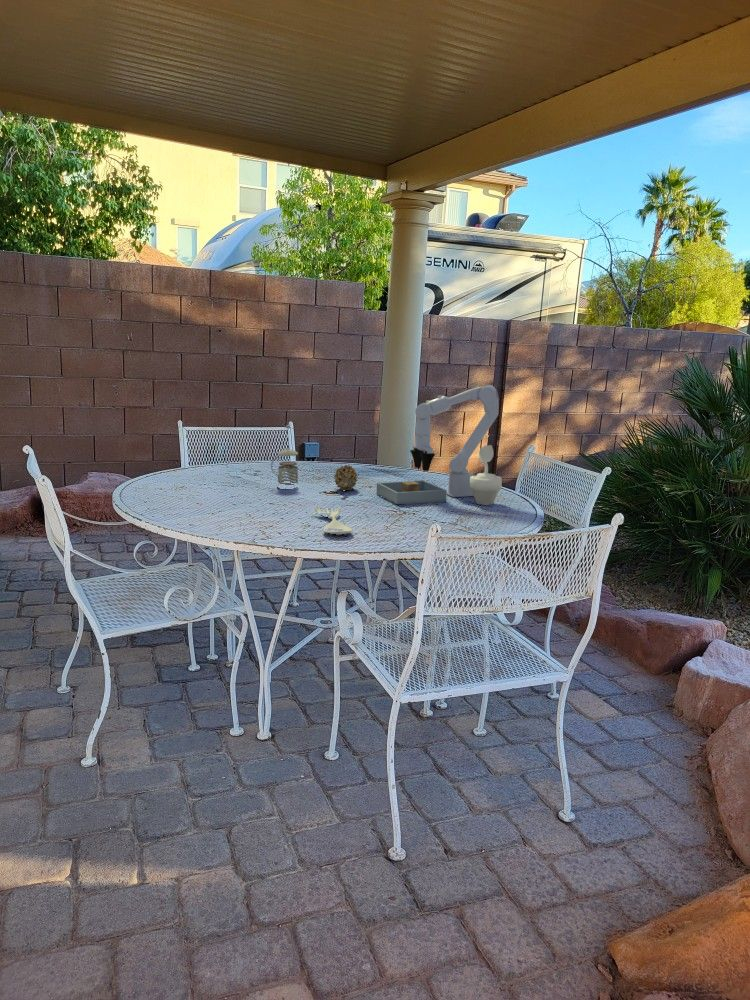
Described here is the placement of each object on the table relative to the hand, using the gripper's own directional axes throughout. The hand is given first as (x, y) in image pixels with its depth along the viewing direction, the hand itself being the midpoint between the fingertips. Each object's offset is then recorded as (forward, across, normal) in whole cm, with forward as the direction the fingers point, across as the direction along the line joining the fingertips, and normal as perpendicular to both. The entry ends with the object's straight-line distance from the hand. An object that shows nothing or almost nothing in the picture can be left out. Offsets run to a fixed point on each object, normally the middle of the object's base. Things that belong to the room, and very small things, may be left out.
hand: (421, 469), depth 285 cm
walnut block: (+9, +8, -8) cm, 14 cm away
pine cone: (+10, -10, -28) cm, 31 cm away
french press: (+10, -25, -48) cm, 55 cm away
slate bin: (+9, +8, -8) cm, 15 cm away
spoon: (+10, +40, -49) cm, 64 cm away
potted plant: (+10, +24, +15) cm, 30 cm away
